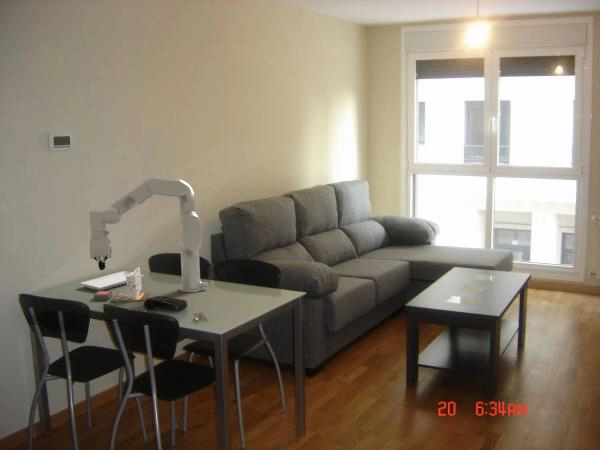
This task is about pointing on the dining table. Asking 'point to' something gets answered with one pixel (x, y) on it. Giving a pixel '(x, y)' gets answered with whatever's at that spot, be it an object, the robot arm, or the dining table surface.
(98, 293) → the button
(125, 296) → the picture board
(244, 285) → the dining table surface
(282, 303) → the dining table surface
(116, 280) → the tray
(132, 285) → the ink cartridge box
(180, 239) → the robot arm
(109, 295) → the button base
